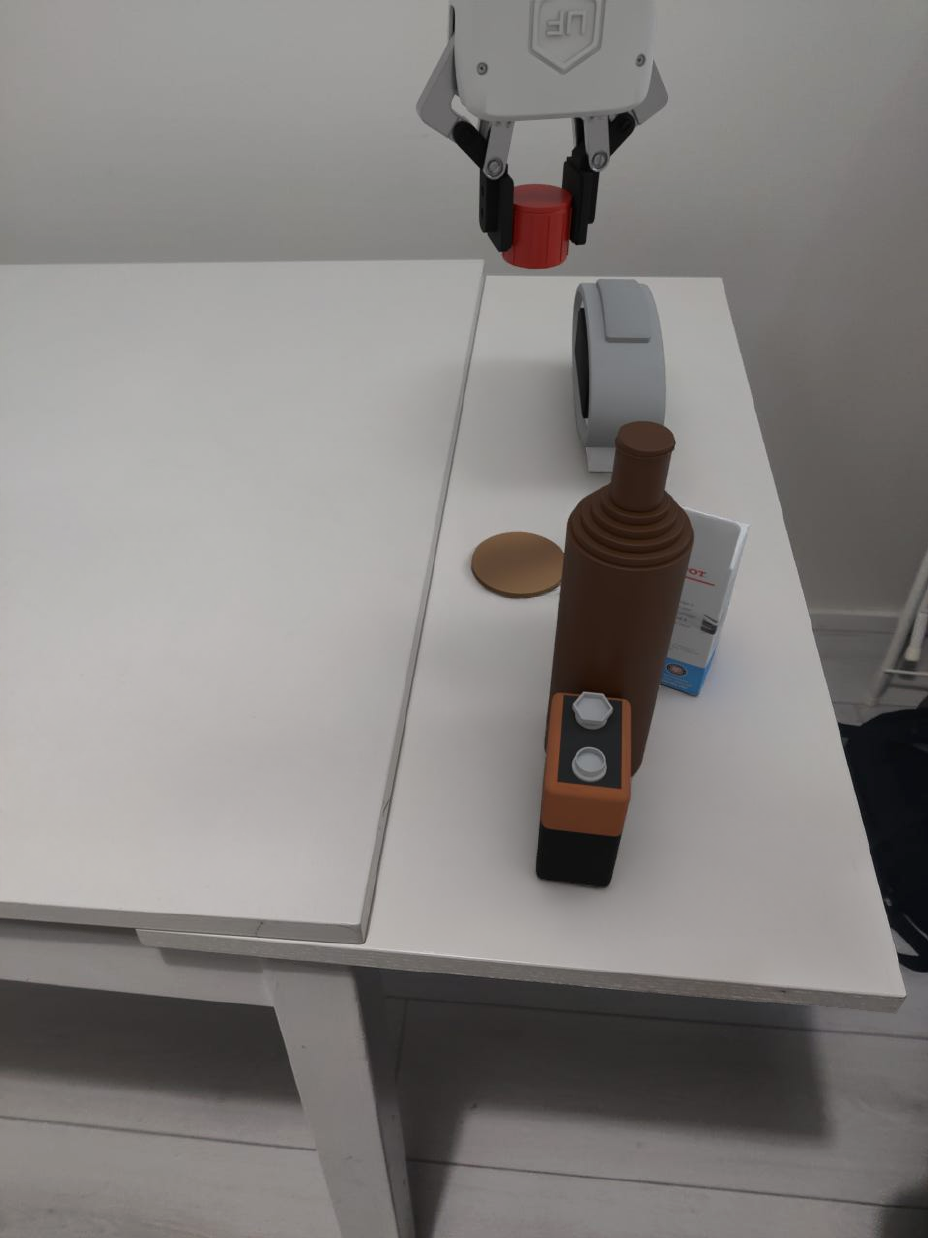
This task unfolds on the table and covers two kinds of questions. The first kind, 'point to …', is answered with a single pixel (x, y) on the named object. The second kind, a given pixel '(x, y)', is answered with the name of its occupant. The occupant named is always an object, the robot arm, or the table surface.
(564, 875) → the battery
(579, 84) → the robot arm
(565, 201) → the cap
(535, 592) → the coaster
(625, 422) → the alarm clock
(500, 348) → the table surface
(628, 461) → the bottle
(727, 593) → the ink box
